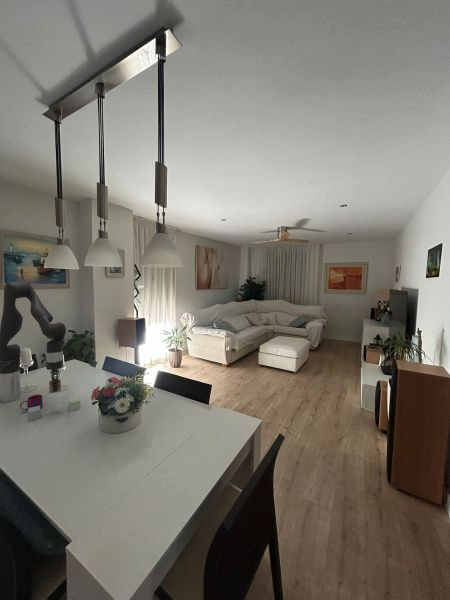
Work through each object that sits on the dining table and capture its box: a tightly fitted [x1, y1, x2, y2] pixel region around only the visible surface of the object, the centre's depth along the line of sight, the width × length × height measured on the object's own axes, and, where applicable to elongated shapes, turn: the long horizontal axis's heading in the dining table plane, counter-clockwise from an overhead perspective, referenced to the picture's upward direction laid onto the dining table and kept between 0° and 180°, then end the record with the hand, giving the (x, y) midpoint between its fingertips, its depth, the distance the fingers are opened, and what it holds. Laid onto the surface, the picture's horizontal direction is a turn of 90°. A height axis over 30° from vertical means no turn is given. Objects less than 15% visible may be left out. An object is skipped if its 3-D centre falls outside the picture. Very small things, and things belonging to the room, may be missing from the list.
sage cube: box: [68, 396, 81, 412], centre depth 137 cm, size 5×5×5 cm
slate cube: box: [27, 406, 41, 422], centre depth 126 cm, size 5×5×5 cm
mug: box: [19, 394, 43, 411], centre depth 134 cm, size 7×10×7 cm
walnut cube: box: [48, 378, 62, 394], centre depth 131 cm, size 5×5×5 cm
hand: (54, 389), depth 131 cm, fingers closed on walnut cube, 5 cm apart
